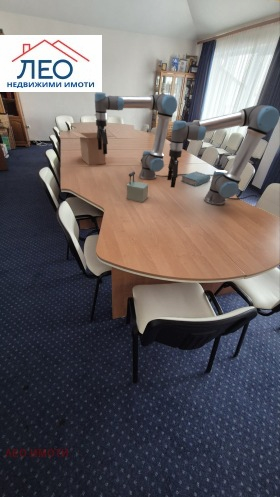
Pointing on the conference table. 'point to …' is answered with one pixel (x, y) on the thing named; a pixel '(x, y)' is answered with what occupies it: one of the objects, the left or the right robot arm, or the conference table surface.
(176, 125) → the right robot arm
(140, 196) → the chest
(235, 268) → the conference table surface
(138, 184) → the lid
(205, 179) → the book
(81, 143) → the box
